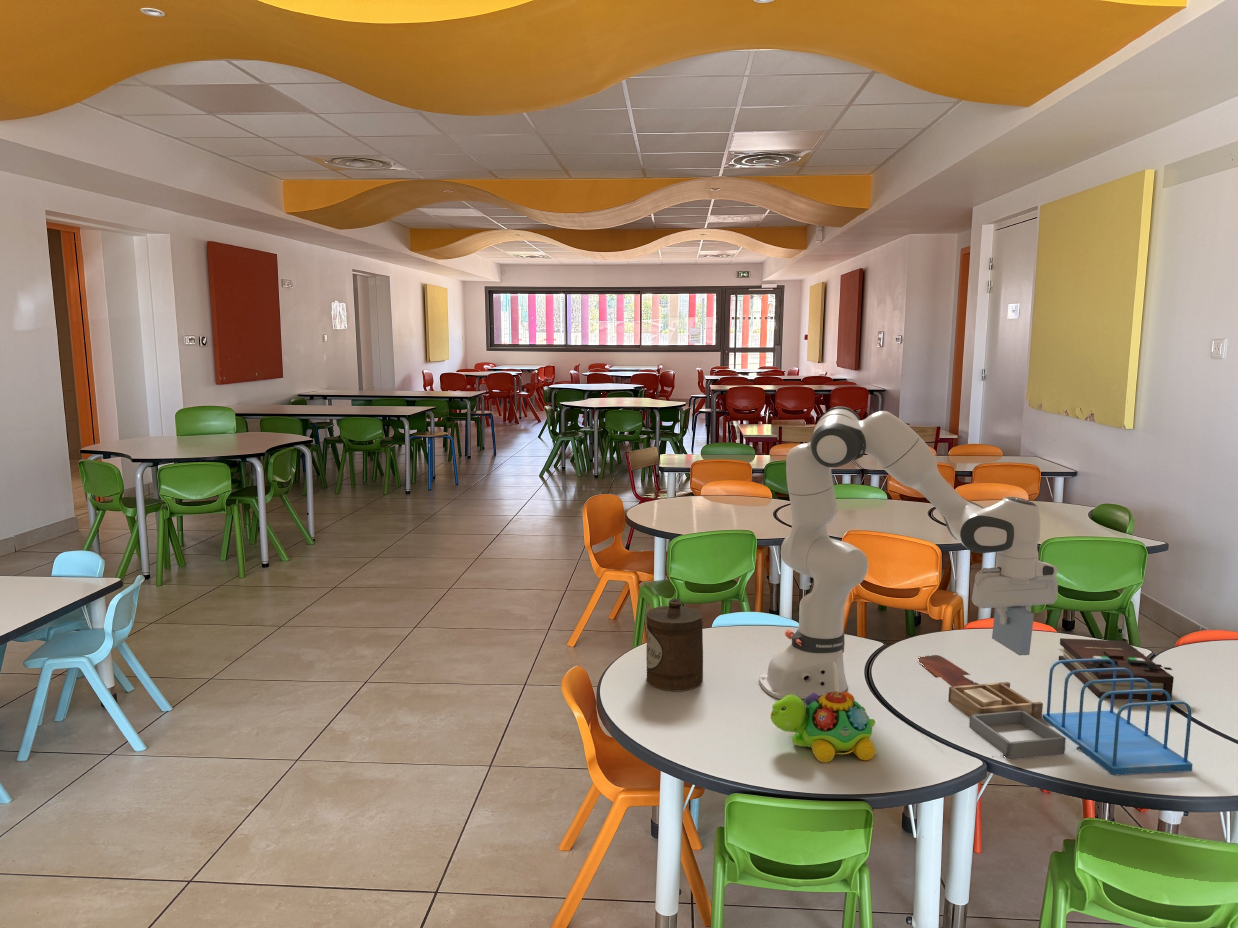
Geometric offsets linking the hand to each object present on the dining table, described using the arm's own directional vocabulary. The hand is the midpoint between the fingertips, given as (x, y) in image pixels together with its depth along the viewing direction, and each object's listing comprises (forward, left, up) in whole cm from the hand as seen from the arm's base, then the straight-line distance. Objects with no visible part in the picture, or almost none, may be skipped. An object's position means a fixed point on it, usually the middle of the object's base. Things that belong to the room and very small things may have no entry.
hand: (1012, 623), depth 195 cm
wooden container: (-73, +33, -22) cm, 84 cm away
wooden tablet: (0, +23, -23) cm, 32 cm away
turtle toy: (-50, -7, -22) cm, 56 cm away
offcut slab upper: (-7, 0, -19) cm, 20 cm away
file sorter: (+12, -19, -22) cm, 32 cm away
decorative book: (+39, +12, -23) cm, 46 cm away
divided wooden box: (-3, 0, -22) cm, 22 cm away
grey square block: (0, 0, -6) cm, 6 cm away
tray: (-8, -14, -22) cm, 27 cm away
